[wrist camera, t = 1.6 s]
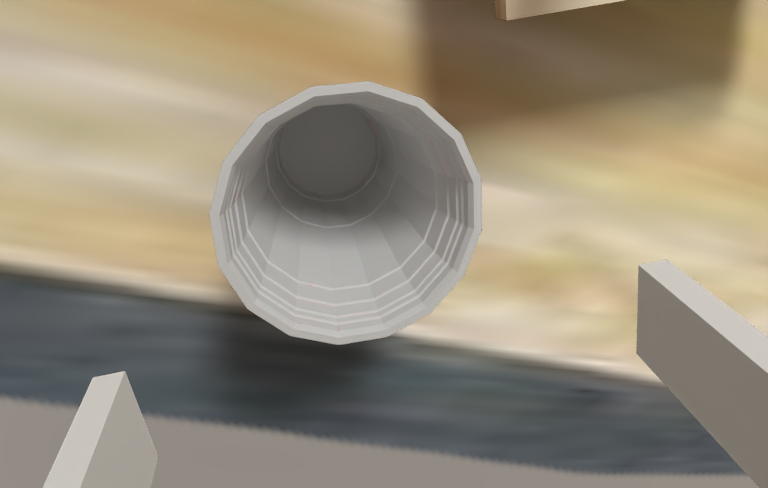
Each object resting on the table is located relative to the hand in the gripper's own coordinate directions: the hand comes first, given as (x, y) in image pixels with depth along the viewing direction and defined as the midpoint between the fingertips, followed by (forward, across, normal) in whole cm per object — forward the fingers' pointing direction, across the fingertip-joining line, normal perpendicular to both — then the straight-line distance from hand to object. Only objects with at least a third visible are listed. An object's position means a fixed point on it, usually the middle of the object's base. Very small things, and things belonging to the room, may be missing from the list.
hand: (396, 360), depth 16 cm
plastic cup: (+21, 0, 0) cm, 21 cm away
